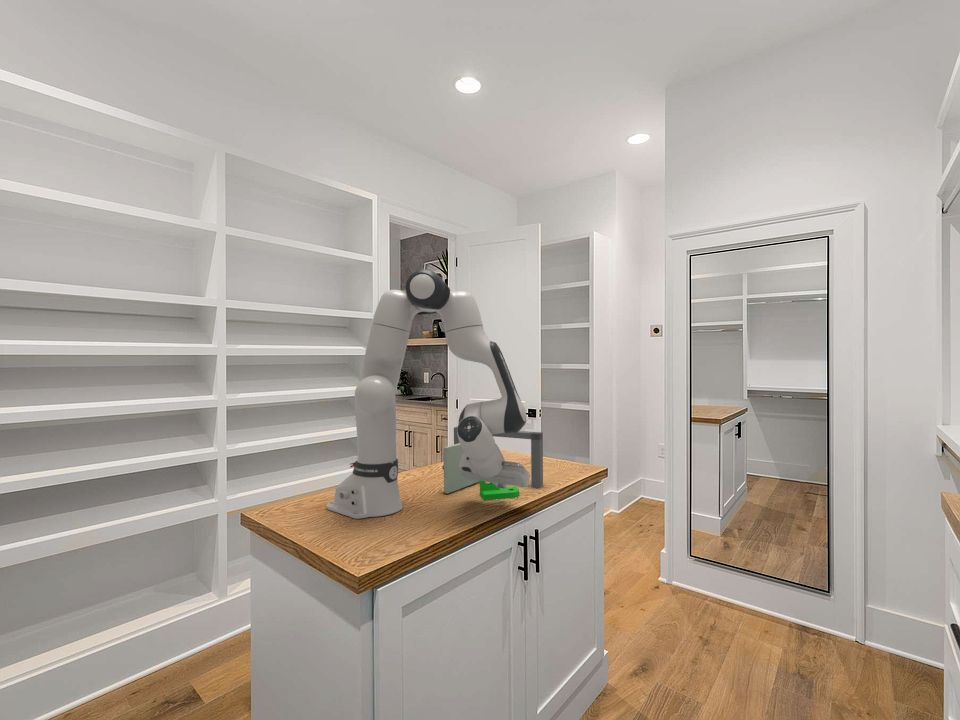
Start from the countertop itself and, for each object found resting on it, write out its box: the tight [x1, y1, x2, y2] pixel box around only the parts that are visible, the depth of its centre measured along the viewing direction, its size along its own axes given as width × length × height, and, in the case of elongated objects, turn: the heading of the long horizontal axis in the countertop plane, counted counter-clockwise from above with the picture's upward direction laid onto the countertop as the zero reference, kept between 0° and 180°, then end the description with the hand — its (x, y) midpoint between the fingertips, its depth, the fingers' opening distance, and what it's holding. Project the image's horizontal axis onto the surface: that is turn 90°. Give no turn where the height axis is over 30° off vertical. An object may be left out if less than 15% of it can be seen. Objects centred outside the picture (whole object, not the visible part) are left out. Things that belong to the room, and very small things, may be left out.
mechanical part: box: [479, 481, 520, 501], centre depth 150 cm, size 12×6×8 cm, turn 103°
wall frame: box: [453, 425, 544, 489], centre depth 166 cm, size 32×3×18 cm, turn 63°
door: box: [442, 443, 480, 495], centre depth 159 cm, size 18×3×14 cm, turn 143°
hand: (502, 486), depth 144 cm, fingers closed
